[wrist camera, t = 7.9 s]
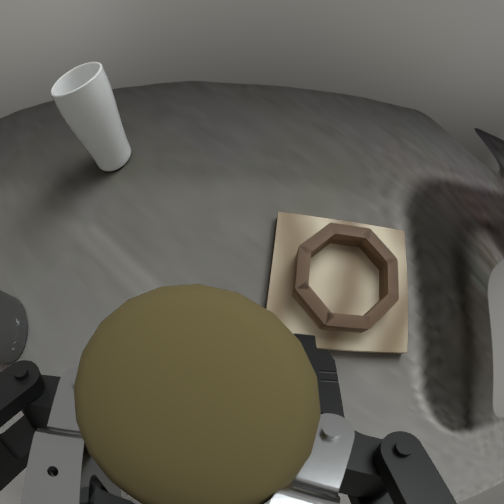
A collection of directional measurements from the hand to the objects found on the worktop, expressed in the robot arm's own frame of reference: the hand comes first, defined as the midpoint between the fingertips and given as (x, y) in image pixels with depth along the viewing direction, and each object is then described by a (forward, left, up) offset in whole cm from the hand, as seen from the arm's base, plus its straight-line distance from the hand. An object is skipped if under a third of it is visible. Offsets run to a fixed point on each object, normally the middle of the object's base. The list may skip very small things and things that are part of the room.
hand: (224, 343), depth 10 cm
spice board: (+9, +9, -19) cm, 23 cm away
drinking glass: (-22, +23, -19) cm, 37 cm away
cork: (0, -2, -5) cm, 5 cm away
